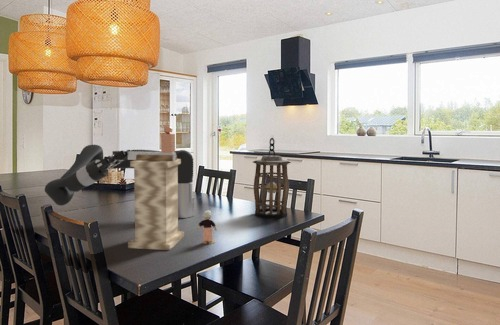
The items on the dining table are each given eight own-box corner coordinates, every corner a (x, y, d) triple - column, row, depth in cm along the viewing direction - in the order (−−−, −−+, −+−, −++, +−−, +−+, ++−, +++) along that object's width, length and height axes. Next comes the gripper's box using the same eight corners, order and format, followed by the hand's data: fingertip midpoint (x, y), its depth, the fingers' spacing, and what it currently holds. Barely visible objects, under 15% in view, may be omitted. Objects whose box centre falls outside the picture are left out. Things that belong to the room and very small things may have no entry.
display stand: (127, 247, 139) (126, 156, 136) (146, 234, 156) (145, 152, 153) (169, 250, 137) (169, 156, 134) (184, 236, 155) (183, 153, 152)
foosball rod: (112, 159, 144) (111, 124, 143) (117, 158, 148) (116, 124, 147) (172, 161, 141) (172, 125, 140) (176, 160, 145) (176, 125, 144)
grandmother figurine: (217, 241, 148) (217, 209, 147) (216, 244, 145) (217, 211, 143) (197, 241, 148) (197, 209, 147) (196, 244, 144) (196, 211, 143)
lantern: (297, 215, 195) (298, 138, 191) (271, 221, 182) (272, 138, 178) (270, 209, 209) (271, 137, 205) (244, 214, 196) (245, 137, 192)
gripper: (105, 178, 155) (139, 159, 152) (86, 183, 140) (123, 162, 138) (96, 162, 154) (130, 142, 152) (76, 166, 140) (113, 144, 138)
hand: (127, 152), depth 145 cm, fingers open, 5 cm apart
